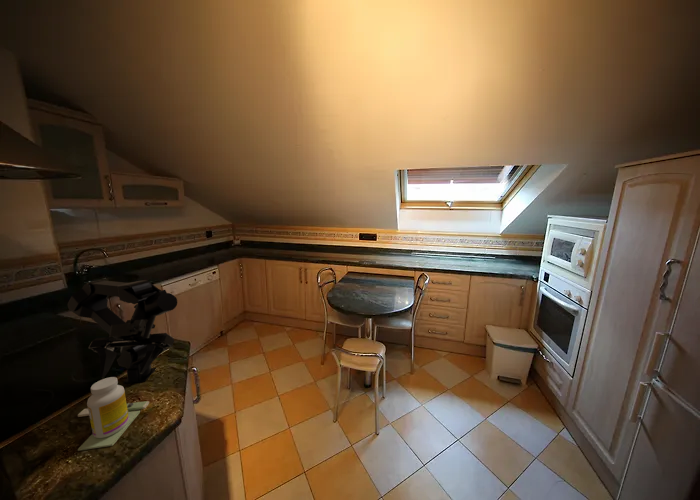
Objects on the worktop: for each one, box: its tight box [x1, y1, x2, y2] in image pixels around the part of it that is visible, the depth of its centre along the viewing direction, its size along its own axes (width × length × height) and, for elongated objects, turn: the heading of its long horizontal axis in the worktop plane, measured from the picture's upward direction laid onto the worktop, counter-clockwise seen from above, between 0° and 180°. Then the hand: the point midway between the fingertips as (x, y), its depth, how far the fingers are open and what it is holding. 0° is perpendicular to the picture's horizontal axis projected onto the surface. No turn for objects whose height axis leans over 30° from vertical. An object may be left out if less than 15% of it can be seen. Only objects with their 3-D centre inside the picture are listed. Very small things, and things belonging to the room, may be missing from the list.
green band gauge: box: [77, 400, 150, 452], centre depth 62 cm, size 13×16×1 cm
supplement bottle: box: [86, 376, 129, 438], centre depth 61 cm, size 7×7×13 cm
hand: (121, 375), depth 65 cm, fingers open, 9 cm apart
